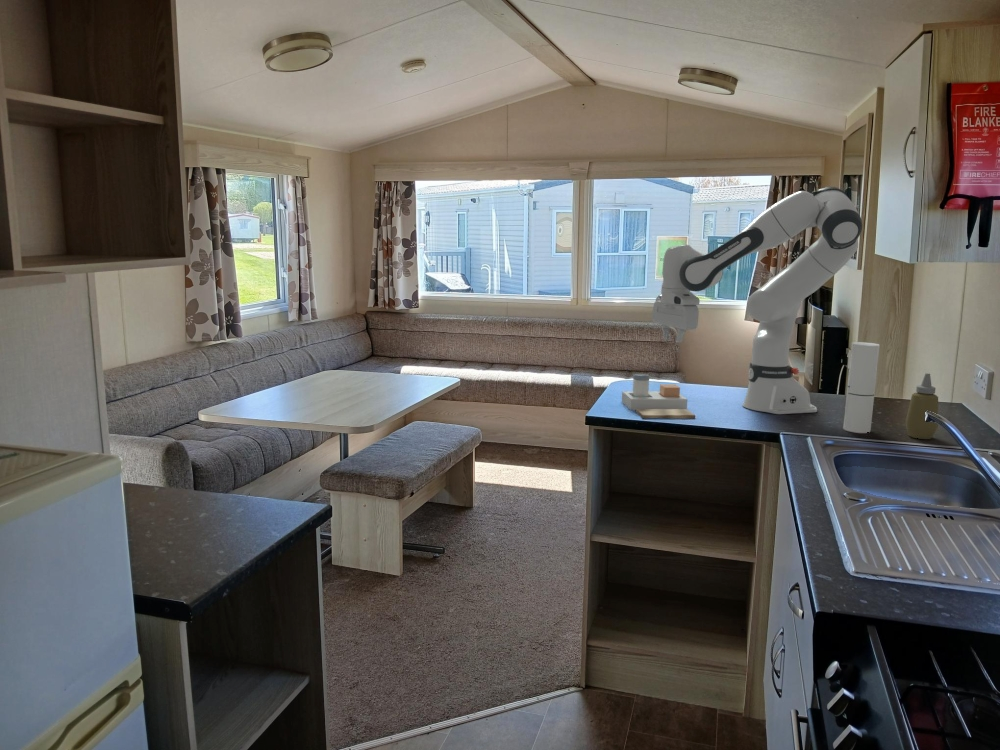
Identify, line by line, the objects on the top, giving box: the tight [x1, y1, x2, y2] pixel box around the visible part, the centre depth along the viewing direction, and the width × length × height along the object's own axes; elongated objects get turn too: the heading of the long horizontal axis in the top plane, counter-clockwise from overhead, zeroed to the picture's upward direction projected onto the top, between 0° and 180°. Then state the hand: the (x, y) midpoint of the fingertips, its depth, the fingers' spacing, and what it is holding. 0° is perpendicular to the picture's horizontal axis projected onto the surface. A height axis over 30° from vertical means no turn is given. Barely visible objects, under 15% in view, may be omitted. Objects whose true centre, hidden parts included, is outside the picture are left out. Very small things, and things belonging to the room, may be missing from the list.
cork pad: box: [635, 408, 696, 419], centre depth 236 cm, size 16×8×1 cm, turn 95°
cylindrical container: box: [842, 341, 881, 434], centre depth 220 cm, size 7×7×25 cm
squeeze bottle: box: [905, 372, 939, 440], centre depth 214 cm, size 8×8×18 cm
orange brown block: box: [659, 383, 681, 397], centre depth 248 cm, size 5×5×4 cm
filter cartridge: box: [632, 373, 650, 397], centre depth 247 cm, size 5×5×10 cm
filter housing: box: [621, 390, 688, 411], centre depth 248 cm, size 18×12×4 cm, turn 95°
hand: (672, 340), depth 245 cm, fingers open, 5 cm apart
